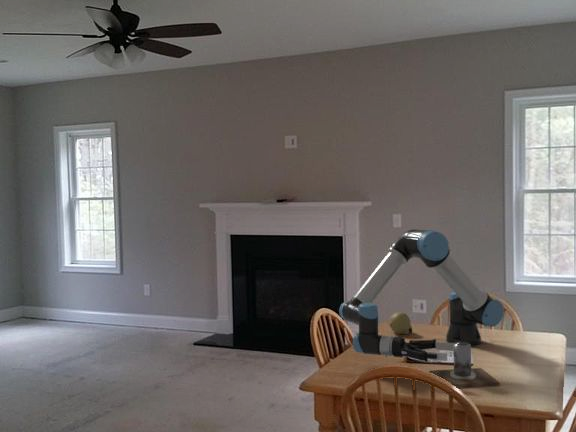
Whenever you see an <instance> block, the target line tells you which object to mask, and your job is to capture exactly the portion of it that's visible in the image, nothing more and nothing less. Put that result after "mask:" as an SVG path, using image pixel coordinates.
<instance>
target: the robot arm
mask: <svg viewBox="0 0 576 432" xmlns="http://www.w3.org/2000/svg"><path fill="white" fill-rule="evenodd" d="M449 244H450V243H449V241H448V239H447V237H446V236H445V235H444V234H443V233H442V232H440V231H436V230H430V229H428V230H425V229H409V230H407V231H405V232H403V233H402V234H401V235H399V236H398V237H397V238H396V239H395V240H394V242H392V244H391V245H390V246H389V247H388V248H387V254H386V255H385V256H384V258H383V259H382V260H381V262H379V264H378V265H377V266H376V267H375V269H374V271H372V273H371V274H370V275H369V276H368V278H366V280H365V281H364V283H363V284H362V285H361V287H359V289H358V290H357V292H356V293H355V294H354V295H353V297H352V298H351V299H350V300H349V301H344V302H342V303H341V304H340V306H339V309H338V312H339V316H340V317H341V319H343V320H345V321H346V322H348V323H349V322H350V323H352V324H355V325H357V326H358V333H355V334H354V335H353V338H352V340H353V341H352V348H353V351H354V352H355V353H359V354H364V355H375V356H376V355H377V356H384V357H385V358H387V357H395V358H403V357H408V358H412V359H415V360H418V361H422V362H423V361H424V362H429V360H433V361H443V362H447V361H448V353H447V352H442V351H451V352H454V347H453V343H455V342H459V341H463V342H467V343H470V344H471V346H478V345H481V343H482V337H481V334H480V331H479V328H478V324H479V325H482V326H484V327H490V328H492V327H496V326H498V325H499V324H500V323H501V322H502V320H503V317H504V312H505V308H504V305H503V303H502V302H501V301H499V300H498V299H494V298H492V297H491V295H489V293H488V292H487V291H486V290H484V289H480V288H478V286H477V285H476V284H475V283H474V282H473V280H472V279H471V278H470V277H469V275H467V273H466V272H465V271H464V270H463V268H462V267H461V266H460V265H459V264H458V263H457V262H456V261H455V259H454V258H453V257H452V256H451V255H450V253H451V249H450V246H449ZM413 258H415V259H417V258H418V259H420V260H421V261H422V263H423V264H424V265H425V266H426V267H427V268H429V269H434V270H435V271H436V273H437V274H438V275H439V276H440V277H441V279H442V280H443V281H444V282H445V283H446V284H447V285H448V286H449V288H450V289H451V290H452V292H450V294H449V297H448V301H449V302H448V304H449V307H448V308H449V326H448V330H447V331H446V336H445V339H446V340H445V342H443V341H442V342H441V341H437V339H435V338H433V339H419V340H413V339H410V340H409V341H408V342H406V341H405V337H402V336H392V335H382V334H379V311H378V305H377V304H376V303H373V302H374V301H375V299H376V298H377V297H378V295H379V294H380V293H381V292H382V290H384V289H385V287H386V286H387V284H388V283H389V282H390V280H391V279H392V278H393V277H394V276H395V274H396V273H397V272H398V270H399V269H400V268H401V266H402V265H405V264H407V263H408V262H409V261H410V259H413ZM432 349H435V350H437V351H429V350H432ZM425 350H428V351H425ZM438 350H440V351H441V352H439V351H438Z"/></svg>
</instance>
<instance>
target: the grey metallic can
mask: <svg viewBox="0 0 576 432" xmlns="http://www.w3.org/2000/svg"><path fill="white" fill-rule="evenodd" d="M471 368H472V347H471V344H470V343H467V342H463V341H459V342H455V343H453V369H454V374H455V375H457V376H462V377H467V376H471Z"/></svg>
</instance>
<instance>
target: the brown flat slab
mask: <svg viewBox="0 0 576 432" xmlns="http://www.w3.org/2000/svg"><path fill="white" fill-rule="evenodd" d="M429 372H430V373H433V374H435V375H437V376H439V377H441V378H443V379H445V380H446V381H448V382H450V383H451V384H452V385H454V386H456V387H458V388H457V389H460V388H476V387H477V388H478V387H479V388H480V387H496V386H500V381H499V380H497V379H496V378H495V377H494V376H492V375H490V374H489V373H488V372H487V371H485V370H484V369H483V368H482V367H476V368H475V367H474V368H472V367H471V376H467V377H462V376H457V375H455V374H454V368H453V369H450V368H449V369H433V370H432V369H431V370H428V373H429Z"/></svg>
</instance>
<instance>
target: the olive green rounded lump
mask: <svg viewBox="0 0 576 432" xmlns="http://www.w3.org/2000/svg"><path fill="white" fill-rule="evenodd" d="M387 323H388V324H389V327H390V329H391V331H392V332H393V334H394V335H410V334H412V333H413V327H412V323H411V319H410V317H409V316H408V314H407V313H405V312H403V311H402V312H401V311H397V312H394V313H392V314H391V315H390V317H389V319H388V320H387Z"/></svg>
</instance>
